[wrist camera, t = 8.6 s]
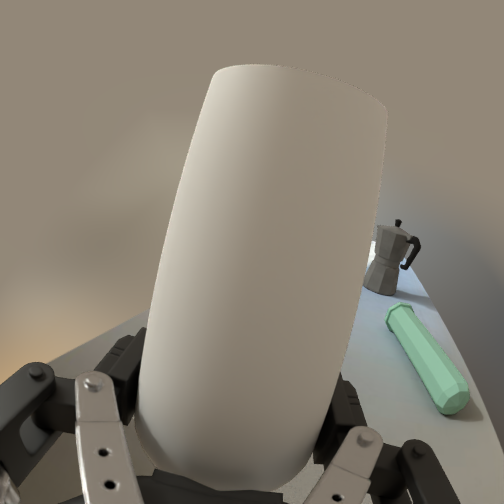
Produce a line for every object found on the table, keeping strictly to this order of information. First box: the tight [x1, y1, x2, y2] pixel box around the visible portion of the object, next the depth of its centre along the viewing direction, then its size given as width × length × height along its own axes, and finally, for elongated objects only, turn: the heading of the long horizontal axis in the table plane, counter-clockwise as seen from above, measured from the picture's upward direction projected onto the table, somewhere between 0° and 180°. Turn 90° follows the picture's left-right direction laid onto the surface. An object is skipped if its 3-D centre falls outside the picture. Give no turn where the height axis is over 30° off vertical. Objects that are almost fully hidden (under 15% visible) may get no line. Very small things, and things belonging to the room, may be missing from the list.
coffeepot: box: [363, 219, 421, 296], centre depth 73 cm, size 15×9×18 cm, turn 21°
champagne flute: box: [134, 64, 388, 492], centre depth 11 cm, size 7×7×24 cm
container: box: [384, 302, 470, 415], centre depth 41 cm, size 6×6×25 cm
